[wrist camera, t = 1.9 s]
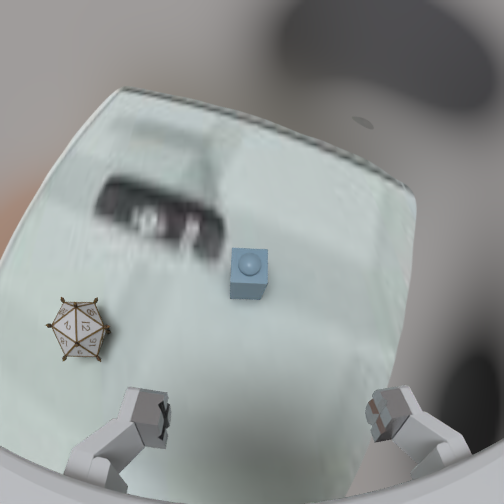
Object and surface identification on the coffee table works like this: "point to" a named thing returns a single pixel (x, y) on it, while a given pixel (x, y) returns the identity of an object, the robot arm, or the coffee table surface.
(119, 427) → the robot arm
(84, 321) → the twenty-sided die
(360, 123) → the coffee table surface
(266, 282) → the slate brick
